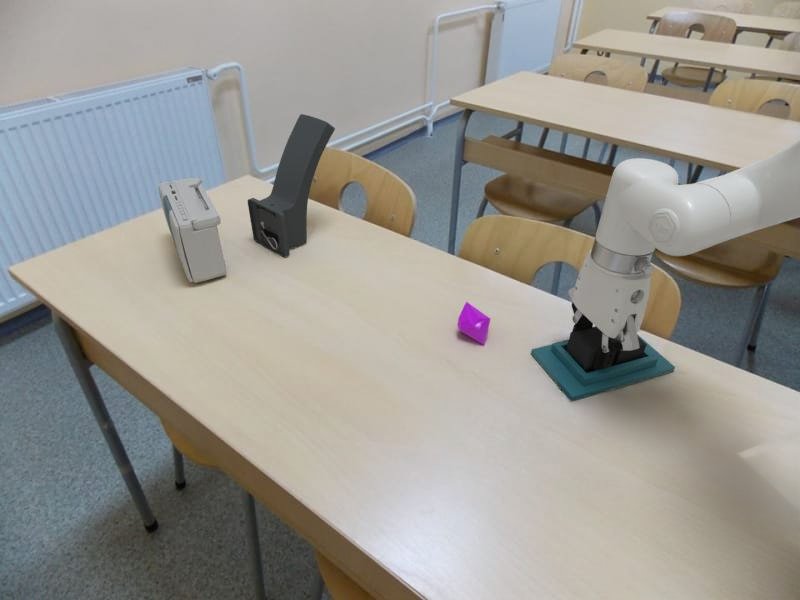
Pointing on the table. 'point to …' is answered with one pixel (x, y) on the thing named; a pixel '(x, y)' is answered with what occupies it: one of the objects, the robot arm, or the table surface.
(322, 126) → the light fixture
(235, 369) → the table surface
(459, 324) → the crystal
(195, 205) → the radio
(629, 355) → the black block
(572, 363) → the dock
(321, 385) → the table surface
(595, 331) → the black square block
